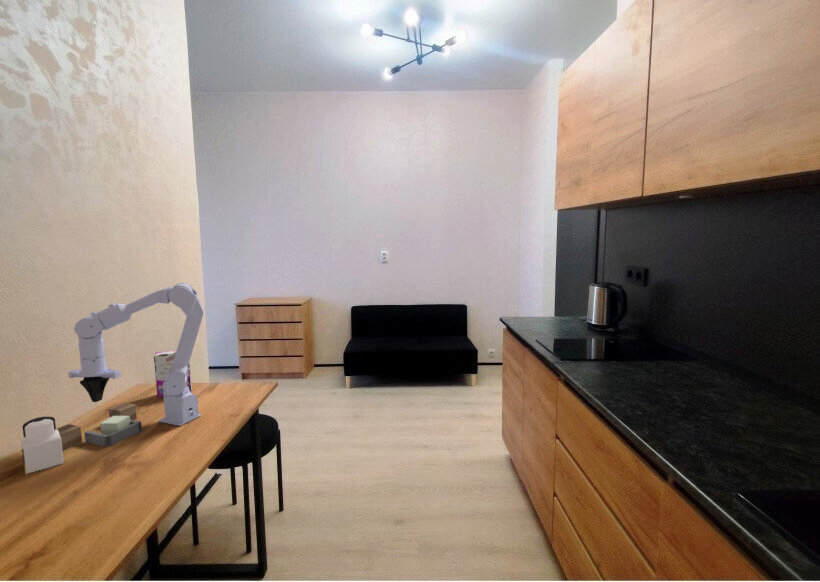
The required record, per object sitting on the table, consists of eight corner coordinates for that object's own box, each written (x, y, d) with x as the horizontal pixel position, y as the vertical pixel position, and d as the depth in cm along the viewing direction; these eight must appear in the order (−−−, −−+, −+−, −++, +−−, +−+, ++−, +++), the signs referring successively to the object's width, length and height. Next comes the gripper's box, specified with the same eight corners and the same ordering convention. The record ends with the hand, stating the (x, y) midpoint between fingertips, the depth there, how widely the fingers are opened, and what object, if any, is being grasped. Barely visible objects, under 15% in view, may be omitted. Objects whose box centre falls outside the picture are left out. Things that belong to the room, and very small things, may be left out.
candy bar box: (192, 388, 152) (189, 348, 150) (191, 393, 148) (188, 351, 146) (158, 393, 147) (155, 351, 145) (156, 398, 143) (153, 355, 141)
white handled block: (23, 464, 100) (18, 420, 99) (60, 453, 105) (55, 411, 104) (25, 475, 95) (19, 429, 94) (64, 463, 100) (59, 419, 99)
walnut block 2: (136, 419, 126) (135, 404, 125) (121, 426, 121) (119, 411, 121) (125, 417, 127) (124, 402, 127) (110, 423, 123) (108, 408, 122)
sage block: (131, 431, 118) (129, 415, 117) (119, 439, 113) (117, 423, 112) (114, 431, 118) (113, 415, 117) (101, 439, 113) (100, 423, 112)
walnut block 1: (82, 443, 111) (80, 426, 110) (62, 451, 106) (60, 434, 106) (70, 440, 112) (68, 424, 112) (50, 448, 108) (48, 431, 107)
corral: (142, 431, 118) (141, 421, 117) (107, 447, 108) (106, 437, 108) (120, 426, 121) (119, 417, 120) (85, 442, 111) (84, 432, 111)
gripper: (126, 353, 118) (130, 396, 120) (81, 352, 119) (86, 395, 120) (107, 360, 111) (112, 405, 113) (59, 359, 112) (64, 404, 113)
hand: (97, 400), depth 116 cm, fingers closed
